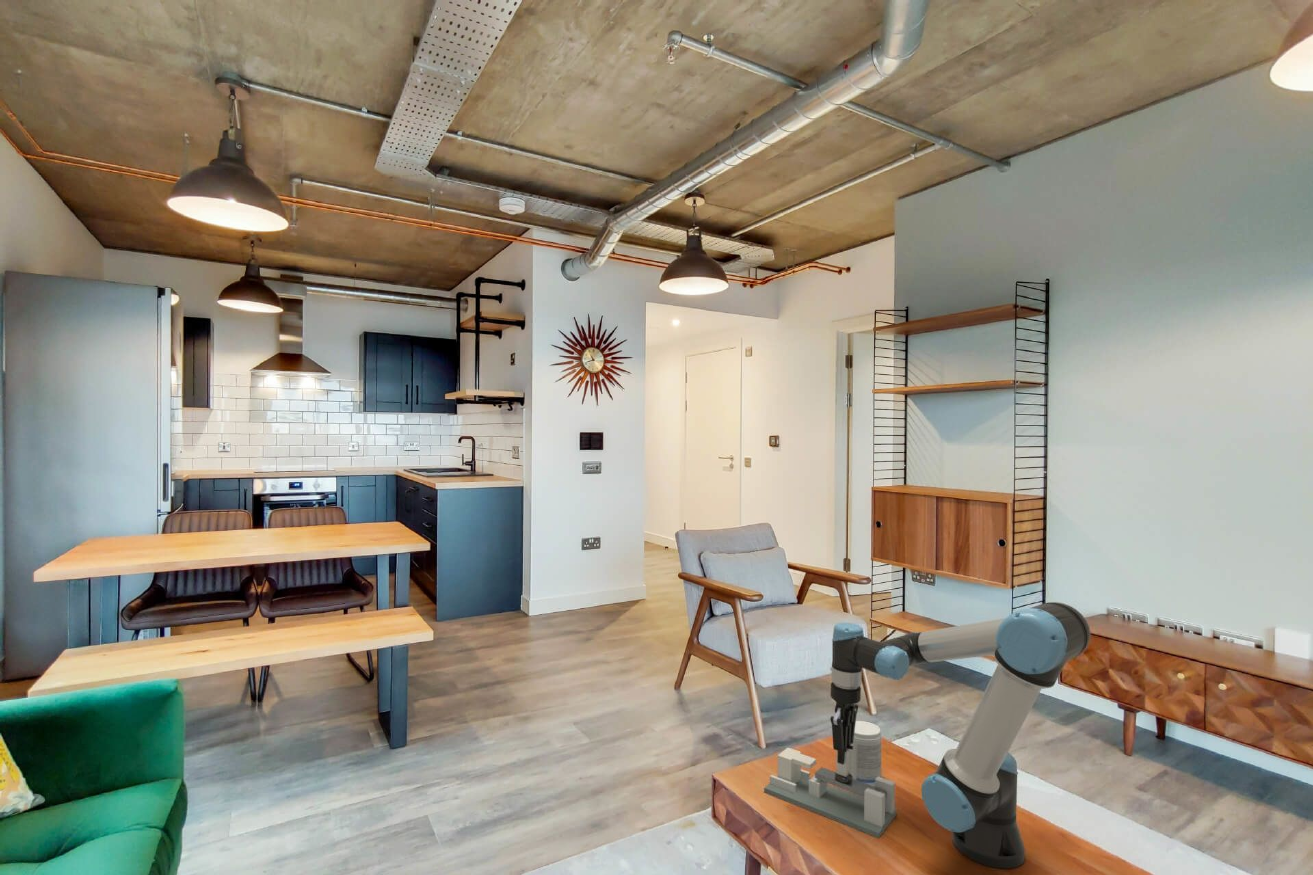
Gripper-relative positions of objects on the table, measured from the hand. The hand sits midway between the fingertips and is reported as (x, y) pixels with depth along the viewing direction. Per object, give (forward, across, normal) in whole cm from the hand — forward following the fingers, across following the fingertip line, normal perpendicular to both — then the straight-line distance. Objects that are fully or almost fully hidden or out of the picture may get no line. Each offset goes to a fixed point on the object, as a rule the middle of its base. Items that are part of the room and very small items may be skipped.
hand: (842, 773), depth 168 cm
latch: (+7, 0, -12) cm, 14 cm away
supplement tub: (+9, -16, 0) cm, 18 cm away
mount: (+8, +1, -3) cm, 9 cm away
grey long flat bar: (+3, 0, +2) cm, 3 cm away
